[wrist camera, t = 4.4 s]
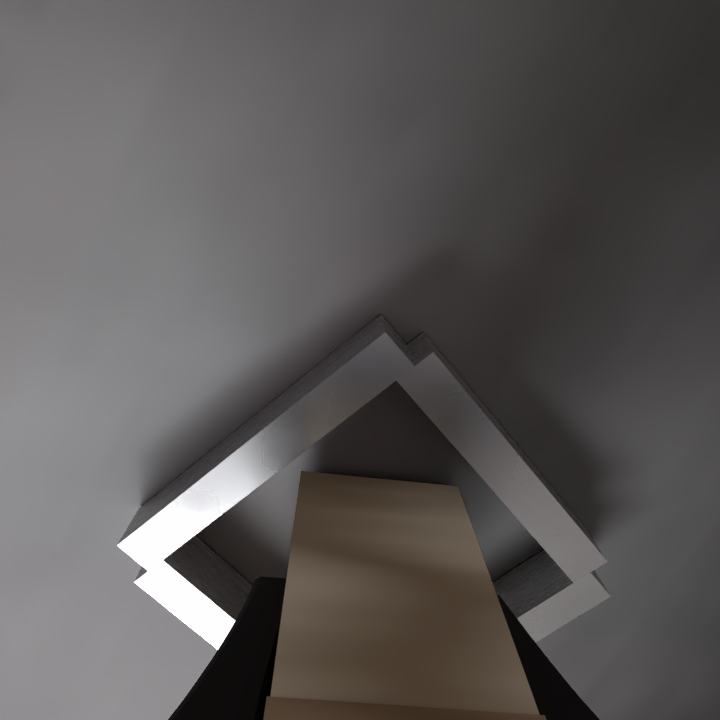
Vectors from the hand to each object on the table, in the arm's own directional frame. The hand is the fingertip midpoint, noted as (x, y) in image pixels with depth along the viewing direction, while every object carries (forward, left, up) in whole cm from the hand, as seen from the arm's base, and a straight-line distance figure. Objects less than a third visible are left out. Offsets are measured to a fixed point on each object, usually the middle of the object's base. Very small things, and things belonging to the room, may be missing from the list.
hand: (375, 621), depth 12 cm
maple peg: (0, 0, -3) cm, 3 cm away
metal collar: (0, 0, -3) cm, 3 cm away
